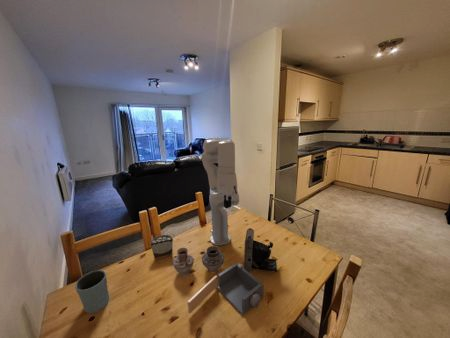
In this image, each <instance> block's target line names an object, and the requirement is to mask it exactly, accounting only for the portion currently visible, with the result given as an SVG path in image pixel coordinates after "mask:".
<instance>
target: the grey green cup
mask: <svg viewBox="0 0 450 338" xmlns="http://www.w3.org/2000/svg"><path fill="white" fill-rule="evenodd" d="M108 287H109V286H108V281H107V273H106V271H105V270H103V269H95V270H92V271H90V272H88V273H85V274H84V275H82V276H81V277H80V278H79V279H77V281H76V283H75V287H74V288H75V290H76V293H77V294H78V296H79V298H80V302H81V304H82V306H83V310H84V311H85V313H86V314H95V313H97V312H99V311H101V310H103V309H104V308H105V307H106V306H107V305H108V303H109V301H110V294H109V293H110V292H109V290H108V289H109V288H108Z"/></svg>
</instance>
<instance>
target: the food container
mask: <svg viewBox="0 0 450 338" xmlns="http://www.w3.org/2000/svg"><path fill="white" fill-rule="evenodd" d="M174 242H175V240H174V238H173V237H172V236H171V235H169V234H161V235H158V236H156V237H154V238H153V239H151V241H150V244H149V247H151V250H152V251H151V252H152V254H153V259H154V260H156V259H160V258H161V259H162V258H164V257H169V256H173V250H174V249H173V246H174V245H173V244H174Z"/></svg>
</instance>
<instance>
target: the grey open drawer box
mask: <svg viewBox="0 0 450 338" xmlns="http://www.w3.org/2000/svg"><path fill="white" fill-rule="evenodd" d="M217 282H218V286H217V287H216V290H218V291H219V293H220V294H221V295H223V296H224V298H225V299H226V300H227V301H228V302H229V303H230V304H231V305H232V306H233V307H234V309H236V310H237V312H238V313H239V314H240V315H241V316H243V315H244V314H245V313H246V312H247V313H248V311H249V310H250V309H252V308H257V307H258V306H259V304H260V303H261V300H262V299H263V298H264V283H262V281H260V280H259V279H257V278H256V277H255V276H254V275H253V274H252V273H249V272H248V271H246V270H245V269H244V266H243V264H242V263H238V262H236V263H233V265H231V266H229V267H227V268H226V269H224V270H223V271H221V272H220V273H218V274H217Z"/></svg>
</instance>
